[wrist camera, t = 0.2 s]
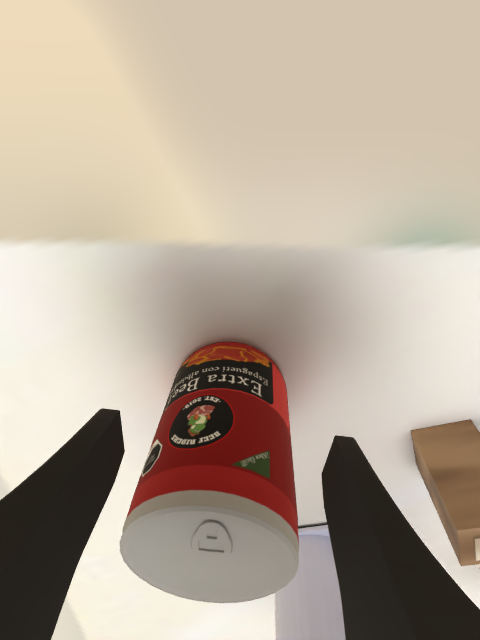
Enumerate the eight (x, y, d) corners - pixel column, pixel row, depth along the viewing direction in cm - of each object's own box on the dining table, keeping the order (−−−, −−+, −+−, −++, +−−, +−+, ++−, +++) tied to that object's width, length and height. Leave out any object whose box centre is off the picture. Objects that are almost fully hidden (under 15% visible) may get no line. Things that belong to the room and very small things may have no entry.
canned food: (276, 329, 21) (286, 500, 12) (293, 420, 25) (311, 604, 16) (160, 346, 22) (84, 513, 13) (193, 430, 26) (153, 606, 17)
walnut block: (472, 455, 26) (537, 561, 20) (416, 464, 27) (462, 568, 21) (470, 419, 24) (541, 523, 18) (410, 430, 25) (458, 533, 19)
